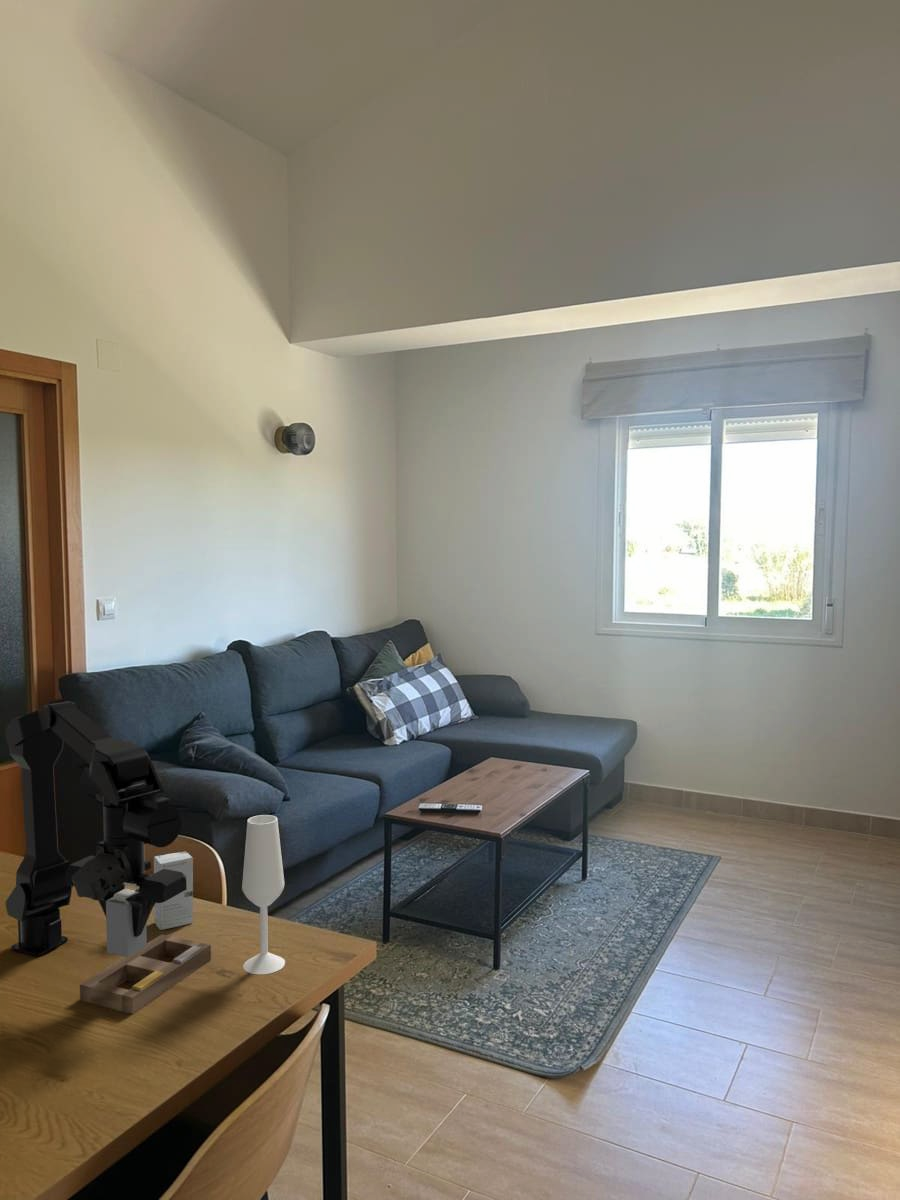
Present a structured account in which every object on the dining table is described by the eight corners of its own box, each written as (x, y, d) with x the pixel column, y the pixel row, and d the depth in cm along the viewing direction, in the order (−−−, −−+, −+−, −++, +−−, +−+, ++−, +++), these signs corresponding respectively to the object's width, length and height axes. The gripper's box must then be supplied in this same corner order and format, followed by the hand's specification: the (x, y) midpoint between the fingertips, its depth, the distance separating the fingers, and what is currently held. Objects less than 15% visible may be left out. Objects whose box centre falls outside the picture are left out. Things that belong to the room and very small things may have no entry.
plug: (107, 952, 132) (105, 895, 131) (126, 941, 136) (125, 885, 135) (127, 957, 130) (126, 899, 130) (146, 945, 134) (145, 889, 133)
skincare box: (160, 931, 154) (158, 864, 153) (153, 922, 158) (151, 856, 157) (194, 923, 158) (193, 857, 157) (187, 914, 161) (186, 849, 161)
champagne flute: (293, 963, 143) (292, 818, 141) (260, 978, 138) (258, 829, 136) (267, 950, 147) (265, 810, 145) (234, 965, 142) (232, 820, 140)
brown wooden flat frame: (80, 1000, 131) (79, 981, 131) (162, 948, 148) (161, 932, 147) (132, 1014, 127) (132, 994, 127) (211, 959, 144) (210, 942, 144)
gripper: (34, 841, 128) (37, 944, 129) (135, 859, 121) (137, 969, 122) (91, 818, 138) (94, 915, 139) (188, 834, 131) (189, 935, 132)
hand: (126, 933), depth 133 cm, fingers closed on plug, 4 cm apart
